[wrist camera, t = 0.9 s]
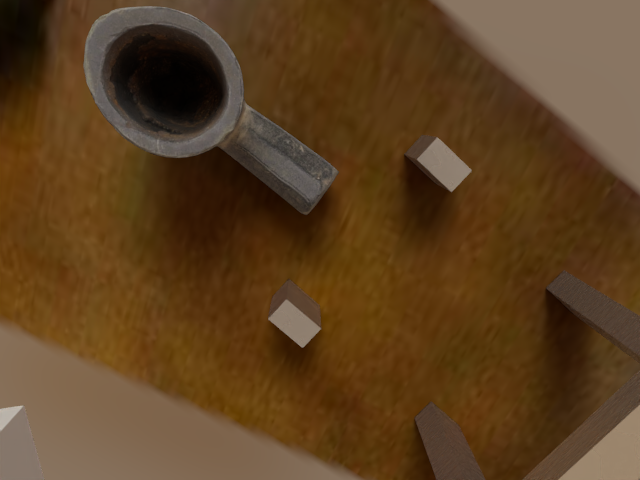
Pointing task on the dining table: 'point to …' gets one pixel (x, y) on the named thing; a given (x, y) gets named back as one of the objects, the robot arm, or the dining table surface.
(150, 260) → the dining table surface
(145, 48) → the pipe
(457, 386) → the dining table surface
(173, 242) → the dining table surface
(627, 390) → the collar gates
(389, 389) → the dining table surface
